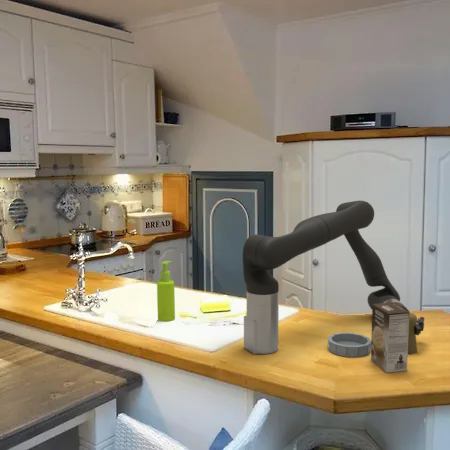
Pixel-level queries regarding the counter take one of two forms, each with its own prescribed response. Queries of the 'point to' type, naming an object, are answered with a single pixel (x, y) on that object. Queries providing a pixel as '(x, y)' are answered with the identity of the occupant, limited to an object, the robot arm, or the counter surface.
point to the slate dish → (349, 344)
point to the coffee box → (390, 337)
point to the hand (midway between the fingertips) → (409, 331)
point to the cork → (412, 334)
